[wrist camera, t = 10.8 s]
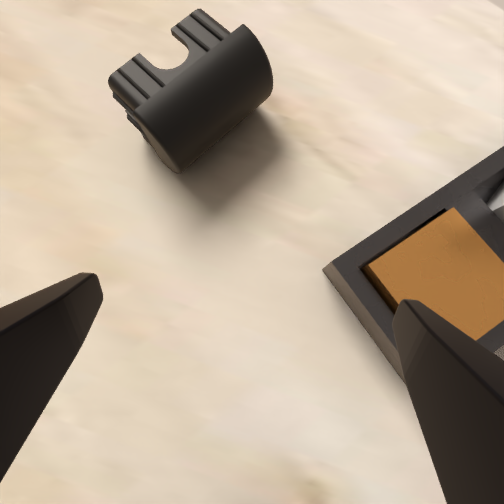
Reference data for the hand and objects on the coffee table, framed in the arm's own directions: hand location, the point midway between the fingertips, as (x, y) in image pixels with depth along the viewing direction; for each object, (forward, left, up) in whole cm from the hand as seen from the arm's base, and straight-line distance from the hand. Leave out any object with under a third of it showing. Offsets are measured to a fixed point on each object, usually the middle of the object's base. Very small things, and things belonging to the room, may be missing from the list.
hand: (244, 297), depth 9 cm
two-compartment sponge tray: (-5, -16, -14) cm, 22 cm away
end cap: (+16, -5, -14) cm, 22 cm away
